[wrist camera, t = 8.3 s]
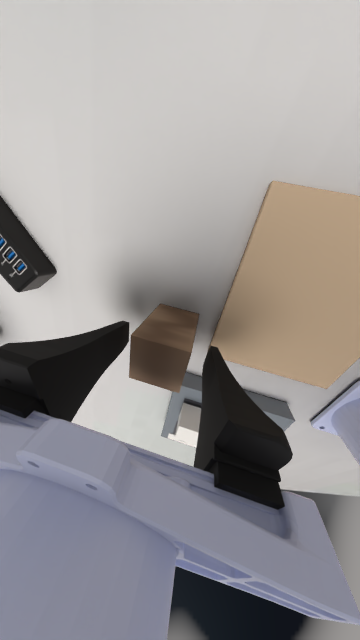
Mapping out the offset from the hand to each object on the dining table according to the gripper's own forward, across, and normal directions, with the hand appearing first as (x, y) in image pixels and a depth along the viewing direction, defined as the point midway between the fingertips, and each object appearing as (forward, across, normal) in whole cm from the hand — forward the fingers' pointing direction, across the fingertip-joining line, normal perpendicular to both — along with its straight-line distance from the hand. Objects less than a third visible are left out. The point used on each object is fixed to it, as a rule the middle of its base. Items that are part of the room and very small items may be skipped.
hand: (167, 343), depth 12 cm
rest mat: (+3, -10, -5) cm, 12 cm away
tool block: (+3, 0, 0) cm, 3 cm away
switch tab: (+1, -5, +9) cm, 11 cm away
